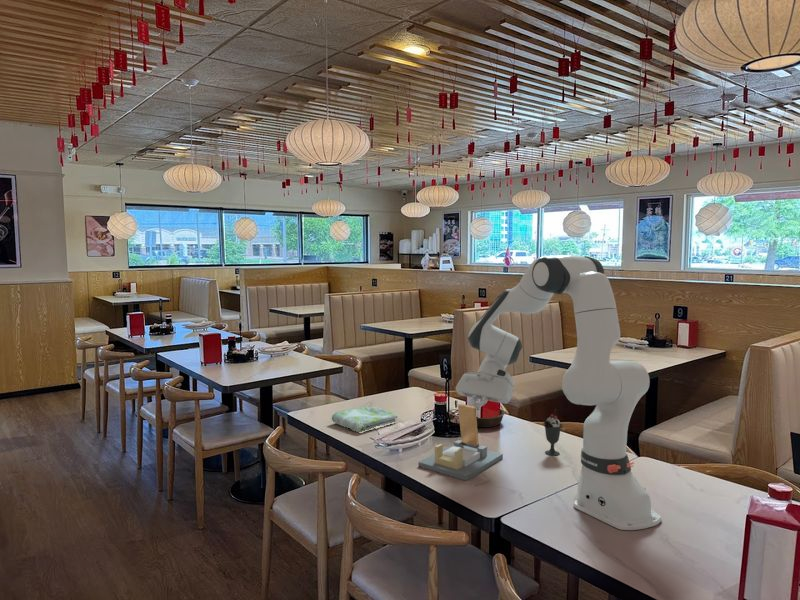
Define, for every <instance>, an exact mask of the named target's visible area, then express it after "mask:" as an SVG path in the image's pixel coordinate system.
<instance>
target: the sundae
mask: <svg viewBox="0 0 800 600" xmlns="http://www.w3.org/2000/svg"><path fill="white" fill-rule="evenodd" d="M556 411H557V409H556V408H555V409H554V412H553V413H552V414H550V416H549V417H547V419H546V420H545V421H543V423H542V425H543V426H544V430H545V437H546V441H547V442H548V443H549V444H550V448H549V449H548V450H545V452H544V453H545V455H548V456H549V457H550V456H552V457H556V456H557V457H558V456H560V454H561V453H560V452H559V451H557V450H556V449H555V445H556V443H558V441H559V439H560V435H561V429H562V428H563V427H564V425H563V424H562V423H561V422H560V420H559V419H558V416H557V413H556ZM554 414H555V415H554Z"/></svg>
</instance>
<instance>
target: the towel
mask: <svg viewBox="0 0 800 600" xmlns="http://www.w3.org/2000/svg"><path fill="white" fill-rule="evenodd" d="M396 419H398V415H397V414H396V413H395V412H393V411H391V410H387V409H384V408H380V407H378V406H377V407H376V406H368V405H367V406H363V407H358V408H351V409H345V410H339V411H336V412H335V413H334V414H332V415H331V421H332V422H333V423H335V424H337V425H339V426H341V425H342V426H341V427H343V426H344V427H343V428H345V427H347V428H346V429H348V428H350V429H352V430H351V431H353V430H354V431H353V432H355V431H356V432H355V433H357V432H362V431H365V430H369V429H371V428H374V427H376V426H380V425H385V424H388V423H392V422H395V421H396V422H397V420H396ZM350 429H349V430H350Z"/></svg>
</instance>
